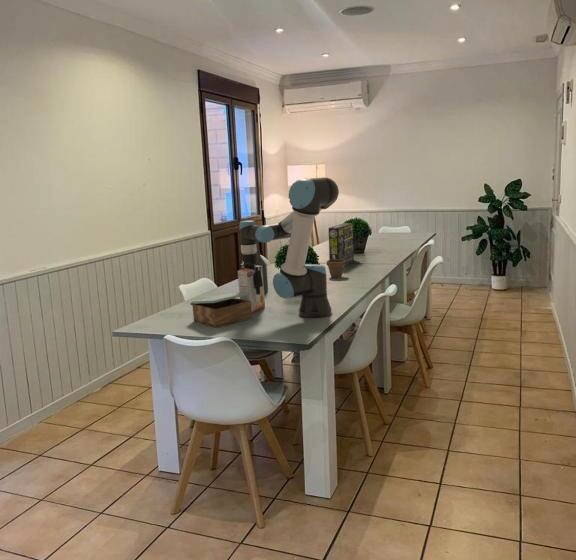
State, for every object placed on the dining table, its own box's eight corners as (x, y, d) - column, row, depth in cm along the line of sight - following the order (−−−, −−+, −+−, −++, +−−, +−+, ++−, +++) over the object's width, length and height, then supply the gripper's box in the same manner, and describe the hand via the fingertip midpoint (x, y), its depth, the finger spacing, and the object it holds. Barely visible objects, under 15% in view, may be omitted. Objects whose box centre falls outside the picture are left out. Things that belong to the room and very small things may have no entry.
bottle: (251, 290, 330) (247, 237, 324) (268, 290, 329) (265, 237, 323) (249, 294, 319) (245, 240, 314) (267, 293, 319) (263, 239, 313)
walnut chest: (252, 318, 269) (251, 299, 267) (215, 327, 255) (214, 308, 254) (228, 311, 283) (226, 294, 281) (192, 320, 270) (190, 302, 268)
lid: (249, 294, 267) (249, 292, 267) (213, 302, 254) (213, 300, 254) (227, 295, 280) (227, 293, 280) (192, 303, 267) (192, 301, 267)
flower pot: (350, 276, 355) (349, 260, 353) (337, 279, 348) (336, 262, 346) (336, 274, 364) (335, 258, 362) (323, 277, 356) (322, 261, 354)
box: (344, 260, 417) (343, 222, 412) (354, 260, 414) (353, 222, 409) (329, 268, 387) (327, 228, 382) (340, 268, 384) (338, 228, 379)
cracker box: (255, 306, 291) (252, 265, 287) (265, 307, 289) (262, 265, 285) (240, 313, 279) (236, 270, 275) (250, 314, 276) (247, 270, 272)
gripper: (268, 253, 274) (271, 301, 278) (242, 250, 288) (245, 295, 293) (256, 255, 269) (259, 304, 273) (230, 252, 284) (233, 298, 288)
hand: (252, 299), depth 283 cm, fingers closed on cracker box, 7 cm apart
